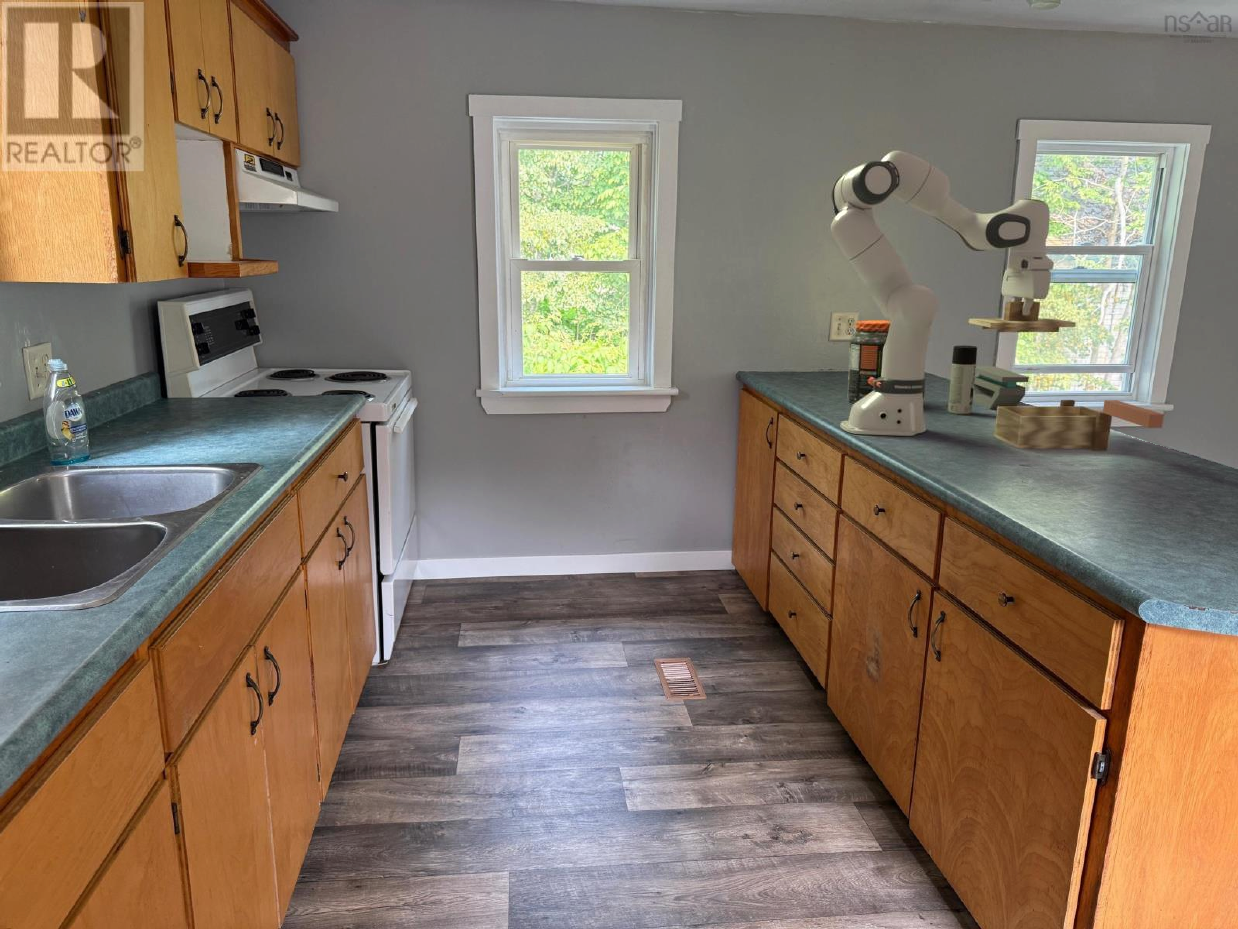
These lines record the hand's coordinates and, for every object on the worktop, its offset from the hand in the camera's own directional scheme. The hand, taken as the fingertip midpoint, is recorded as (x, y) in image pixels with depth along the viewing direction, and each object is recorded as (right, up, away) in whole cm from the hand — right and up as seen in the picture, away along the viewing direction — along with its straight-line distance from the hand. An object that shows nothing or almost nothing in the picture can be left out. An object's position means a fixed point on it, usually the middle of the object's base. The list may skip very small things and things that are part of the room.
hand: (1021, 314), depth 230 cm
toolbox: (0, -35, -15) cm, 38 cm away
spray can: (-7, -25, +25) cm, 36 cm away
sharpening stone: (+9, -23, +37) cm, 44 cm away
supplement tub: (-28, -21, +43) cm, 56 cm away
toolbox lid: (0, -4, +1) cm, 4 cm away
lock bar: (+8, -31, -36) cm, 48 cm away
